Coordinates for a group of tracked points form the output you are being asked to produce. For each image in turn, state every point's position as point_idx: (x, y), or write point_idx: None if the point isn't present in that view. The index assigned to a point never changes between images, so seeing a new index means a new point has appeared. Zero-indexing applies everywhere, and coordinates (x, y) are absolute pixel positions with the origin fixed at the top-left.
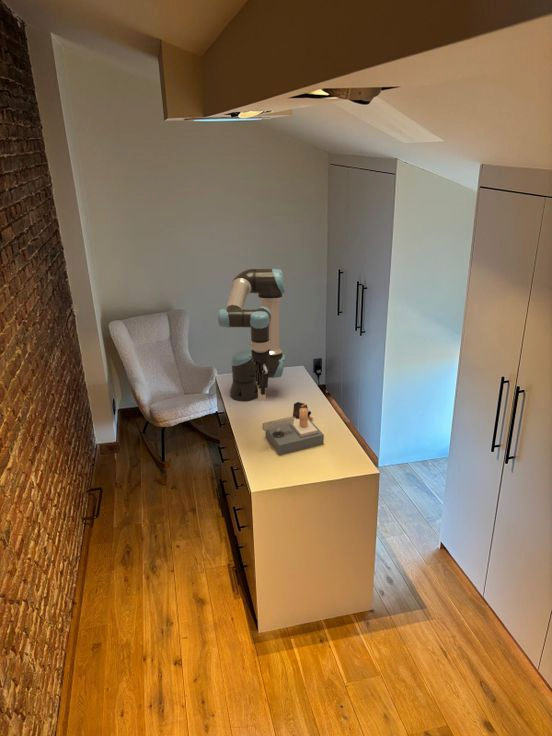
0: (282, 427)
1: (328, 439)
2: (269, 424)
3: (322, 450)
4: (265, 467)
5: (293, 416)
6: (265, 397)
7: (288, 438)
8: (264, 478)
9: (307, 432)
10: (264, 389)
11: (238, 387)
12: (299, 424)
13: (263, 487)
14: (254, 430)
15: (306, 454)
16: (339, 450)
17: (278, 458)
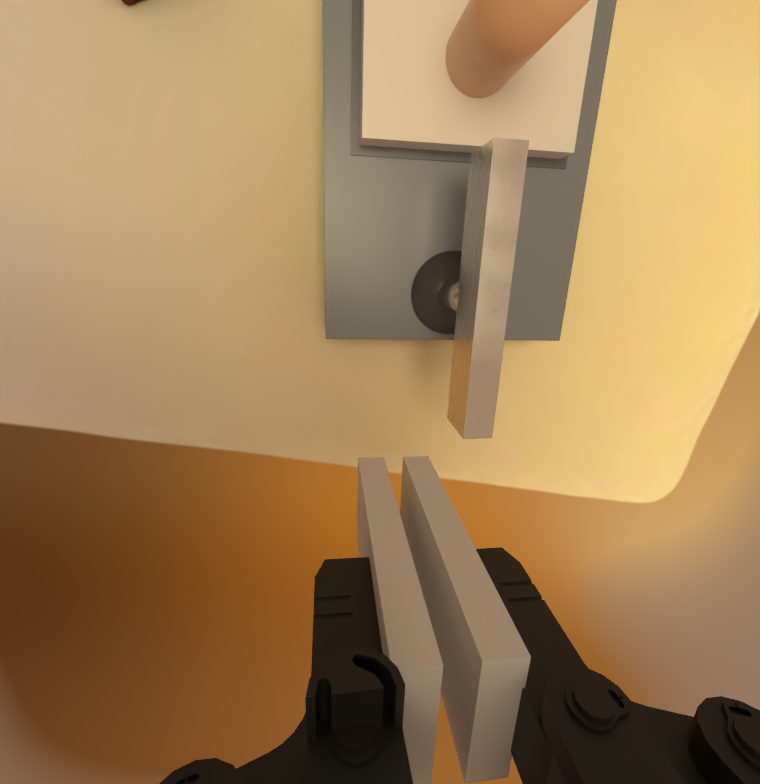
0: (381, 225)
1: None
2: (494, 389)
3: (620, 59)
4: (572, 426)
5: (133, 1)
6: (440, 481)
7: (525, 251)
8: (633, 455)
9: (582, 86)
10: (571, 657)
11: None
12: (473, 91)
13: (676, 476)
14: (233, 361)
15: (597, 182)
16: None
17: (545, 344)
